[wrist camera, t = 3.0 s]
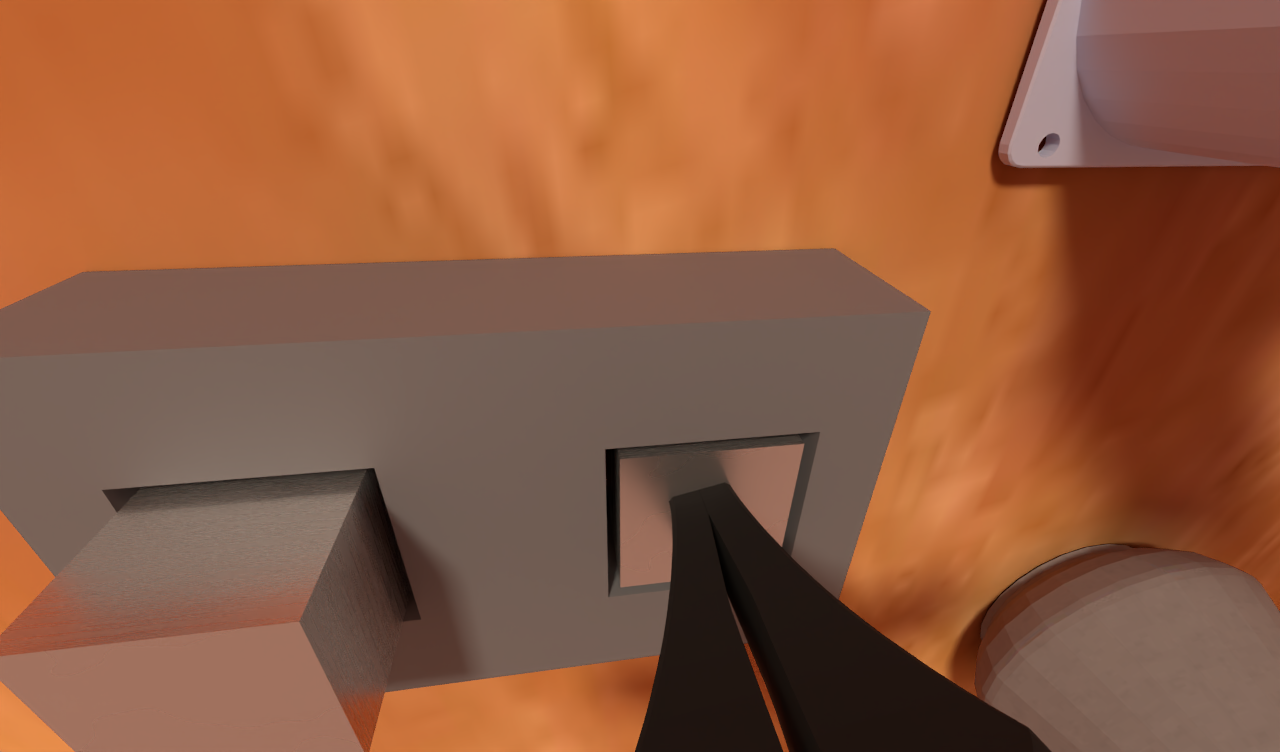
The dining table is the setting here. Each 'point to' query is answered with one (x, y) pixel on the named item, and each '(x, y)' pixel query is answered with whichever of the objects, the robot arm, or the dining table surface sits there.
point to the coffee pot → (1135, 654)
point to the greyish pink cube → (220, 621)
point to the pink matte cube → (674, 469)
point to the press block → (461, 416)
